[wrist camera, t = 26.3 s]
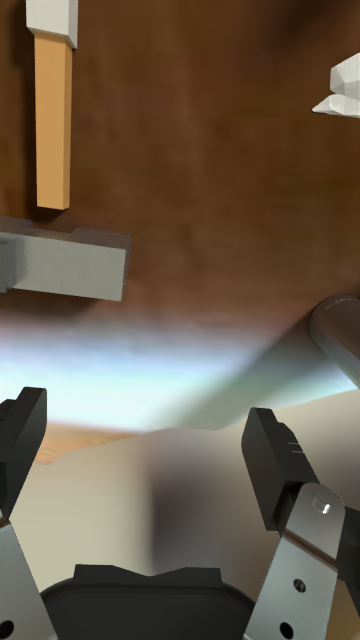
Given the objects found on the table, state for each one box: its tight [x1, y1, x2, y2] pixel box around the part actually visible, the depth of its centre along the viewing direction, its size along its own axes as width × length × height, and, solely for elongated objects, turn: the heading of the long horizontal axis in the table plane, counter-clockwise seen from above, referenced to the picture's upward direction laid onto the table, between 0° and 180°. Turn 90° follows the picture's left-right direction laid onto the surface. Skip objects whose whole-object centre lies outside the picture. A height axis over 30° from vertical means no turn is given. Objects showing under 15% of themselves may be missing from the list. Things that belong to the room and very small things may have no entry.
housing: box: [0, 215, 132, 301], centre depth 40 cm, size 6×20×13 cm, turn 81°
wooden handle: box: [26, 0, 78, 210], centre depth 37 cm, size 23×4×4 cm, turn 171°
